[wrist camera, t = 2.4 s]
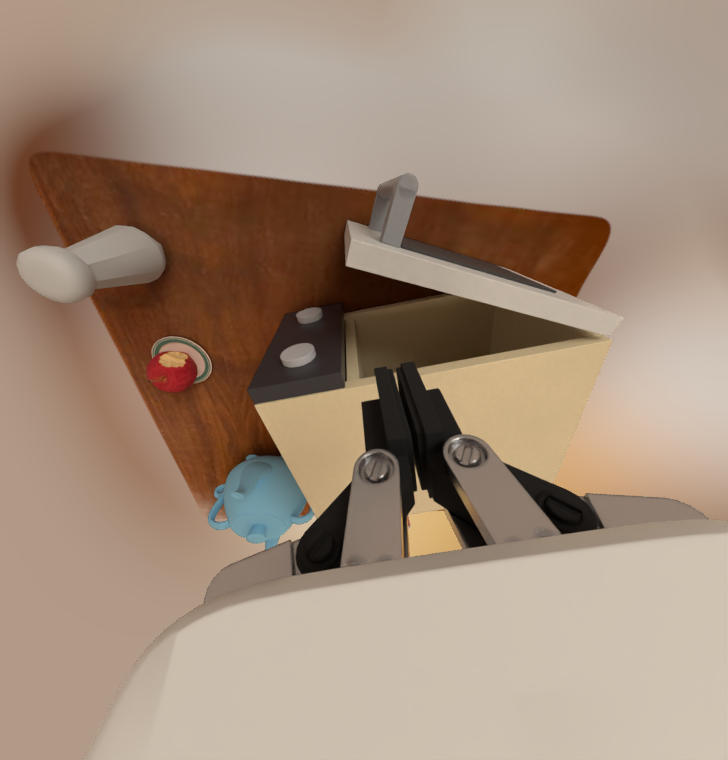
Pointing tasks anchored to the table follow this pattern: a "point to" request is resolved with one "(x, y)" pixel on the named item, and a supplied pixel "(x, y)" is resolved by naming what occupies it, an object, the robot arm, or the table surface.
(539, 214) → the table surface
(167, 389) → the apple
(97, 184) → the table surface
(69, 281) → the salt shaker
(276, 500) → the teapot
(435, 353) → the microwave
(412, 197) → the microwave door
